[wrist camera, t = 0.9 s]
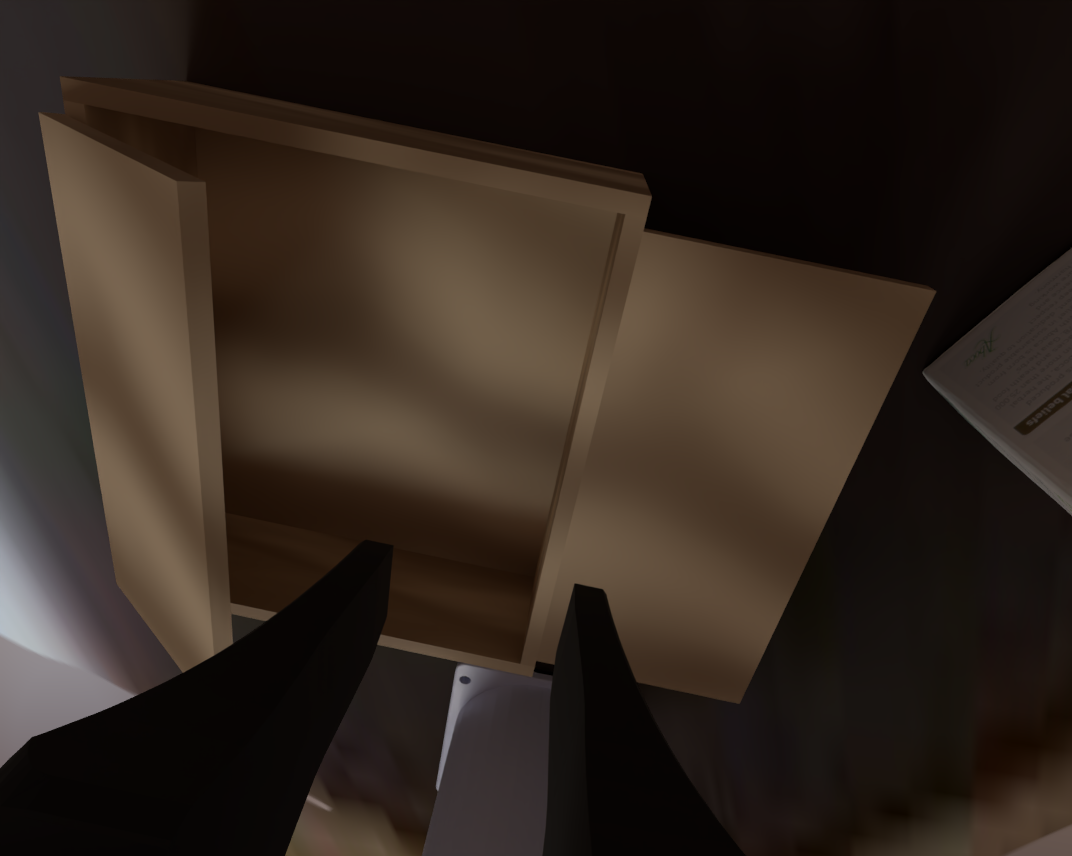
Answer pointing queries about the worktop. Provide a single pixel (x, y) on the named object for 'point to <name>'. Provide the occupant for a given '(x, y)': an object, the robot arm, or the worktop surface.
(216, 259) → the carton
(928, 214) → the worktop surface
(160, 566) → the carton flap
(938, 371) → the syrup box
